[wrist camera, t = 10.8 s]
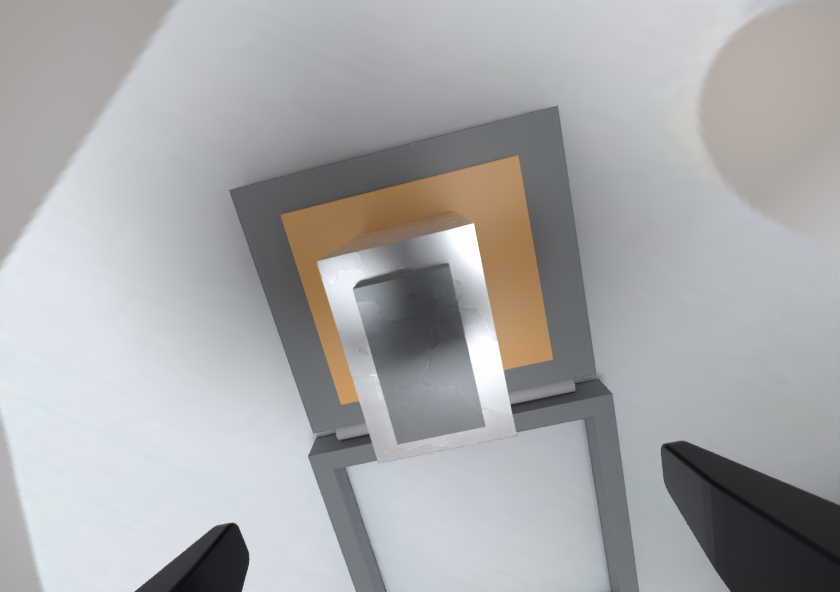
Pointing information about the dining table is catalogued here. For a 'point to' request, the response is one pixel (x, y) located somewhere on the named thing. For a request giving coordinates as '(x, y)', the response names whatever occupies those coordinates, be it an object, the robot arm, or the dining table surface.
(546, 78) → the dining table surface
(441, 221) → the block
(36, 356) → the dining table surface
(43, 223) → the dining table surface
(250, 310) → the dining table surface
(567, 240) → the lid
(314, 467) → the gray square frame
